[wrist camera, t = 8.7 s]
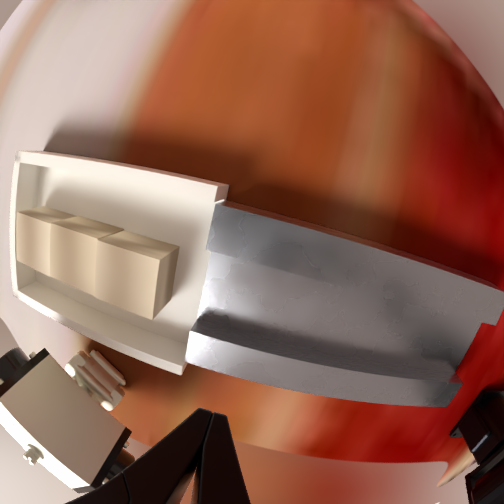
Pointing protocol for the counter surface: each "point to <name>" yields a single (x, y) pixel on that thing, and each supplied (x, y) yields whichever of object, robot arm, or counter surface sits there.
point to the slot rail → (333, 312)
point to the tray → (130, 219)
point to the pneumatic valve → (65, 415)
